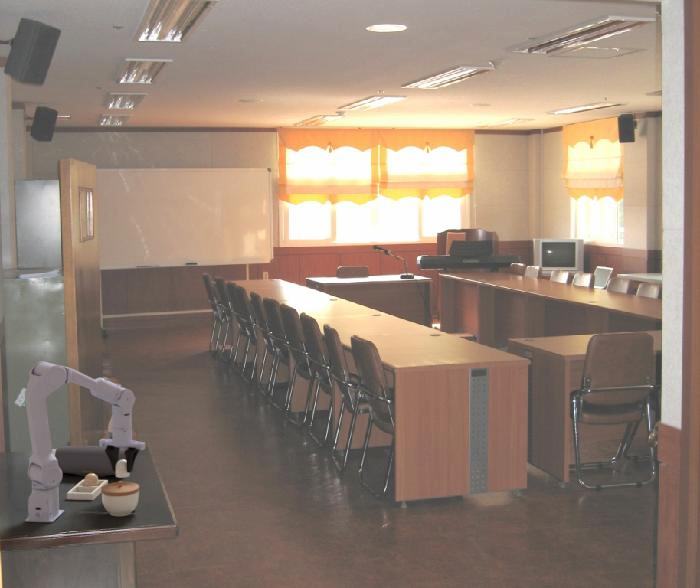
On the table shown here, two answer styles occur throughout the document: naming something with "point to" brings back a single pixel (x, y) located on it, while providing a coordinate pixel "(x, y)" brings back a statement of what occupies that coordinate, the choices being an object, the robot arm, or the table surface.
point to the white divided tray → (86, 491)
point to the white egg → (121, 469)
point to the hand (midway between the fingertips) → (122, 471)
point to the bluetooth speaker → (86, 460)
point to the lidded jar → (120, 497)
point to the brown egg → (91, 480)
